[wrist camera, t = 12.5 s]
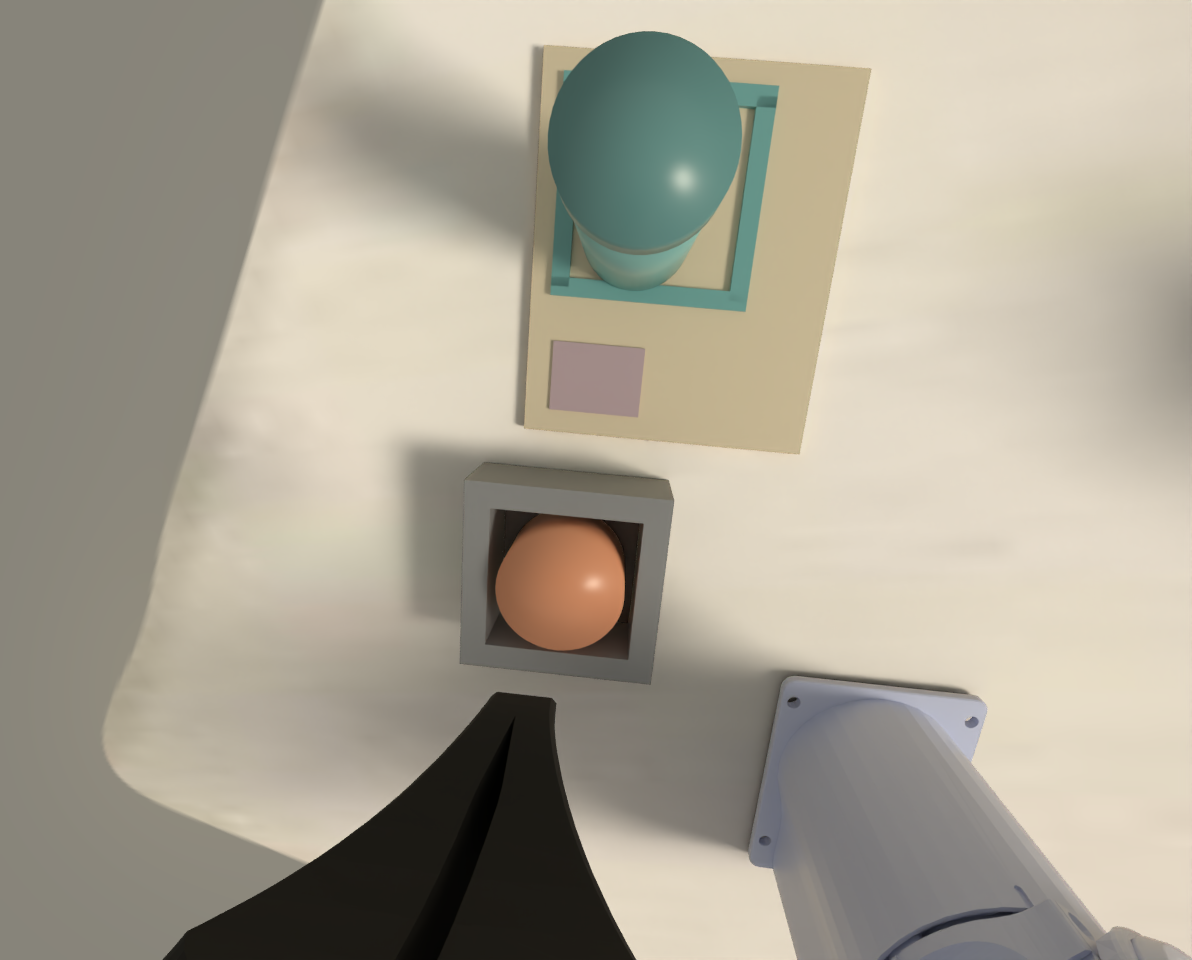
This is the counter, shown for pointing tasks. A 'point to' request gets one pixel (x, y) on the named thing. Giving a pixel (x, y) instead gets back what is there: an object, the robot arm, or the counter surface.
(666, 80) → the teal rounded cylinder
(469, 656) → the button housing
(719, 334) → the card sheet
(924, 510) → the counter surface
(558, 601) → the button
